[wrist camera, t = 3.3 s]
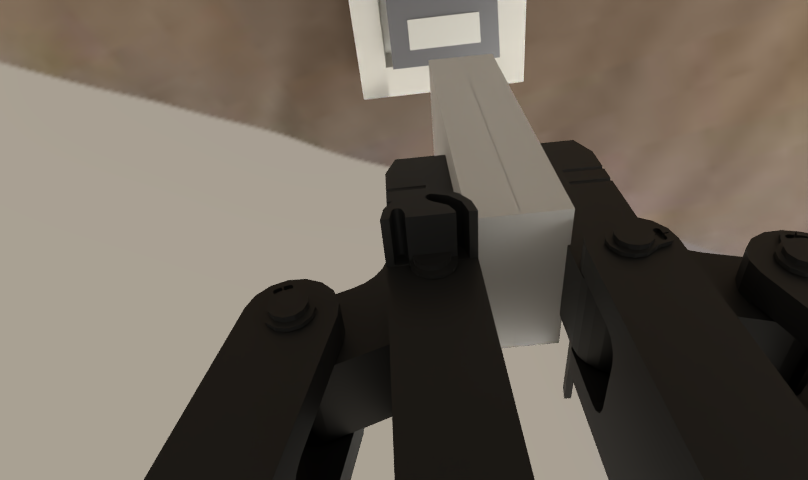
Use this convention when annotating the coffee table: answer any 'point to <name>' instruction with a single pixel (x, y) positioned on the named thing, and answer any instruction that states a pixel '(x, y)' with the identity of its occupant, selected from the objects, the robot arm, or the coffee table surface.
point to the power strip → (387, 82)
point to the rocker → (441, 30)
